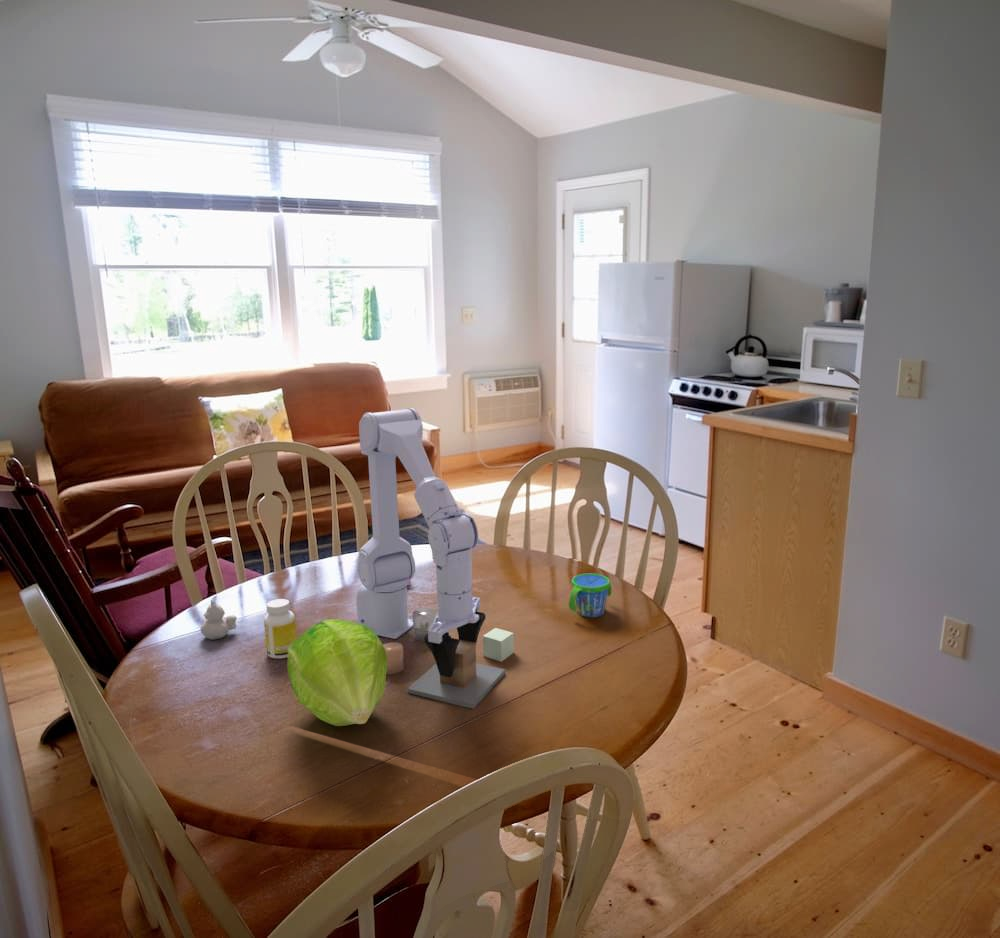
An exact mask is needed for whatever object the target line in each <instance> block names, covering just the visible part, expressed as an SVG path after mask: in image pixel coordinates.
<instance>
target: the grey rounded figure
mask: <svg viewBox="0 0 1000 938" xmlns="http://www.w3.org/2000/svg"><path fill="white" fill-rule="evenodd" d="M225 615H226V612H225V610H224V608H223V607H222V606H221V605H220V604H217V603H216V602H215V601H213V600H212V599H210V604H209V605H208V606H207V608H206V611H205V612H204V613H203V617H204V618H205V621H204V622H203V624H202V625H201V626H200V633H201V634H202V636H204V637H205V638H206V639H208V640H211V641H213V640H219V639H223V638H224V637H225V636H226V635H227V634H228V633H229V631H231V630H235V629H236V628H237V624H236V621H237V618H238V617H237V616H236V615H235V614H234V615H227V616H226V617H225Z"/></svg>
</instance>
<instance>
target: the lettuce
mask: <svg viewBox="0 0 1000 938" xmlns="http://www.w3.org/2000/svg"><path fill="white" fill-rule="evenodd" d="M383 644H384V643H383V642H382V641H381V639H380V638H379V637H378V635H376V634H375V632H374V631H373V630H372V629H371V628H369V627H367V626H365V625H362V624H359V623H358V622H354V621H348V620H344V619H339V618H338V619H337V618H336V619H332V618H328V619H325V620H322V621H319V622H317V623H314V624H313V625H312V626H310V627H309V628H308V629H307V630H306V631H304V632H303V633H302V634H301V635H300V636H299V637H298V638H297V640H296V641H295V642H294V643H293V644H292V645H291V646H290V647H289V649H288V657H287V661H286V663H287V664H286V665H287V667H286V668H287V673H288V677H289V681H290V685H291V689H292V691H293V692H294V695H295V697H296V700H297V702H298V703H299V704H301V706H303V707H304V708H306V710H308V711H309V712H311V713H312V714H313V715H314V716H316V718H318V719H319V720H321V721H323V722H325V723H327V724H330V725H332V726H336V727H343V726H350V725H355V724H356V725H363V724H366V723H367V721H368V719H369V718H370V716H371V714H372V713H373V711H374V709H375V708H376V707H377V706H378V705H379V704H380V701H381V699H382V696H383V693H384V692H385V690H386V681H387V680H386V678H387V674H386V672H387V666H388V665H387V658H386V652H385V648H384V646H383Z"/></svg>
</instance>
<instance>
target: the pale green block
mask: <svg viewBox="0 0 1000 938" xmlns="http://www.w3.org/2000/svg"><path fill="white" fill-rule="evenodd" d="M514 633H515V632H512V631H508V630H505V629H501V628H497V627H494V628H493V629H490V630H489V631H488V632H487V633H485V634H483V635H482V649H483V650H482V656H484V657H485V658H488V659H492V660H496V661H498V662H500V663H501V662H503V661H504V660H506V659H507V658H509V657H510V656H511V655H513V654H514V653H515V649H514V648H515V645H514V644H515V643H514V642H515V638H514V637H515V636H514V635H515V634H514Z"/></svg>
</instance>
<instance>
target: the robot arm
mask: <svg viewBox="0 0 1000 938" xmlns="http://www.w3.org/2000/svg"><path fill="white" fill-rule="evenodd" d="M419 414H420V413H418V412H417V409H415V408H413V407H408V408H406V409H397V410H385V411H379V412H378V411H377V412H365V413H364V414H363V415H362V417H361V418H360V421H359V423H358V430H359V431H358V434H359V435H358V436H359V447H360V453H361V454H362V455H365V456H367V459H368V461H367V462H368V475H369V476H368V477H369V490H370V491H369V492H370V493H369V494H370V508H371V509H370V511H371V522H372V523H371V524H372V526H371V527H372V537H371V538H370V539H369V540H367V542H365V544H364V545H362V547H361V548H360V549H359V554H358V555H359V558H358V559H359V560H358V564H357V572H358V573H357V574H358V578H359V580H360V583H361V585H360V586H359V588H358V591H357V593H356V616H357V623H359V624H362V625H365V626H367V627H369V628H371V629H372V630H373V631H374V632H375V634H376V635H377V637H378V636H379V637H384V638H390V639H393V640H396V639H398V638H400V637H401V636H403V635H404V634H405V633H406V632H407V631H409V630H410V629H412V628H413V619H410V618H409V612H408V611H409V610H408V592H407V591H408V590H407V586H410V585H411V579H413V578H414V575H415V573H416V561H415V558H414V554H413V549H412V545H411V544H410V543H409V541H408V540H406V539H404V538H402V537H401V536H400V523H399V508H398V507H399V505H398V485H397V482H398V481H397V469H396V468H397V467H396V465H397V464H396V458H398V459H399V461H400V463H401V464H402V465H403V467H404V469H405V470H406V472H407V473H408V475H409V477H410V478H411V480H412V482H413V483H414V484H415V486H416V488H415V491H414V494H413V496H414V497H413V498H414V499H415V502H416V503H417V506H418V508H419V510H420V511H421V513H422V515H423V517H424V520H425V522H426V523H427V526H428V528H429V529H428V533H427V537H428V538H427V540H428V544H429V546H430V549H431V555H432V557H431V558H432V561H433V563H434V564H435V566H436V567H435V568H436V569H435V570H436V571H435V572H436V592H437V593H436V595H437V596H436V598H437V612H436V617H435V620H434V622H433V625H432V627H431V628H430V629H429V630H428V633H427V634H426V635H425V636H424V641H423V642H424V643H425V645H426V646H427V648H428V649H429V650H430V652H431V654H432V655H433V658H434V661H435V664H437V668H438V671H439V674H440V675H442V676H446V677H451V676H452V675H453V671H454V659H455V653H456V649H457V646H458V644H459V642H460V640H464V641H469V642H474V643H476V644H477V642H478V636H479V634H480V632H481V631H480V630H481V628H482V626H483V624H484V622H485V620H486V613H485V612H480V611H479V610H480V609H481V608H482V607H481V597H477V596H473V572H472V571H473V570H472V568H473V566H472V563H473V562H472V549H474V548H476V546H477V544H478V541H479V532H478V526H477V524H476V522H475V521H476V520H475V519H474V517H473V516H472V515H471V514H470V513H467V512H466V511H465V509H463V508H460V507H459V506H458V503H457V502H456V499H455V497H454V495H453V494H452V491H451V489H450V488H449V486H448V485H447V483H446V481H445V480H444V479H442V478H439V477H436V474H435V472H434V470H433V467H432V465H431V462H430V460H429V457H428V455H427V453H426V450H425V448H424V444H423V443H422V440H423V433H424V432H423V431H424V429H423V428H424V427H423V423H422V419H421V416H420V415H419ZM409 579H410V580H409ZM409 584H410V585H409ZM406 585H407V586H406ZM453 630H456V631H457V635H458V638H454V637H452V636H451V635H450V632H451V631H453Z"/></svg>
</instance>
